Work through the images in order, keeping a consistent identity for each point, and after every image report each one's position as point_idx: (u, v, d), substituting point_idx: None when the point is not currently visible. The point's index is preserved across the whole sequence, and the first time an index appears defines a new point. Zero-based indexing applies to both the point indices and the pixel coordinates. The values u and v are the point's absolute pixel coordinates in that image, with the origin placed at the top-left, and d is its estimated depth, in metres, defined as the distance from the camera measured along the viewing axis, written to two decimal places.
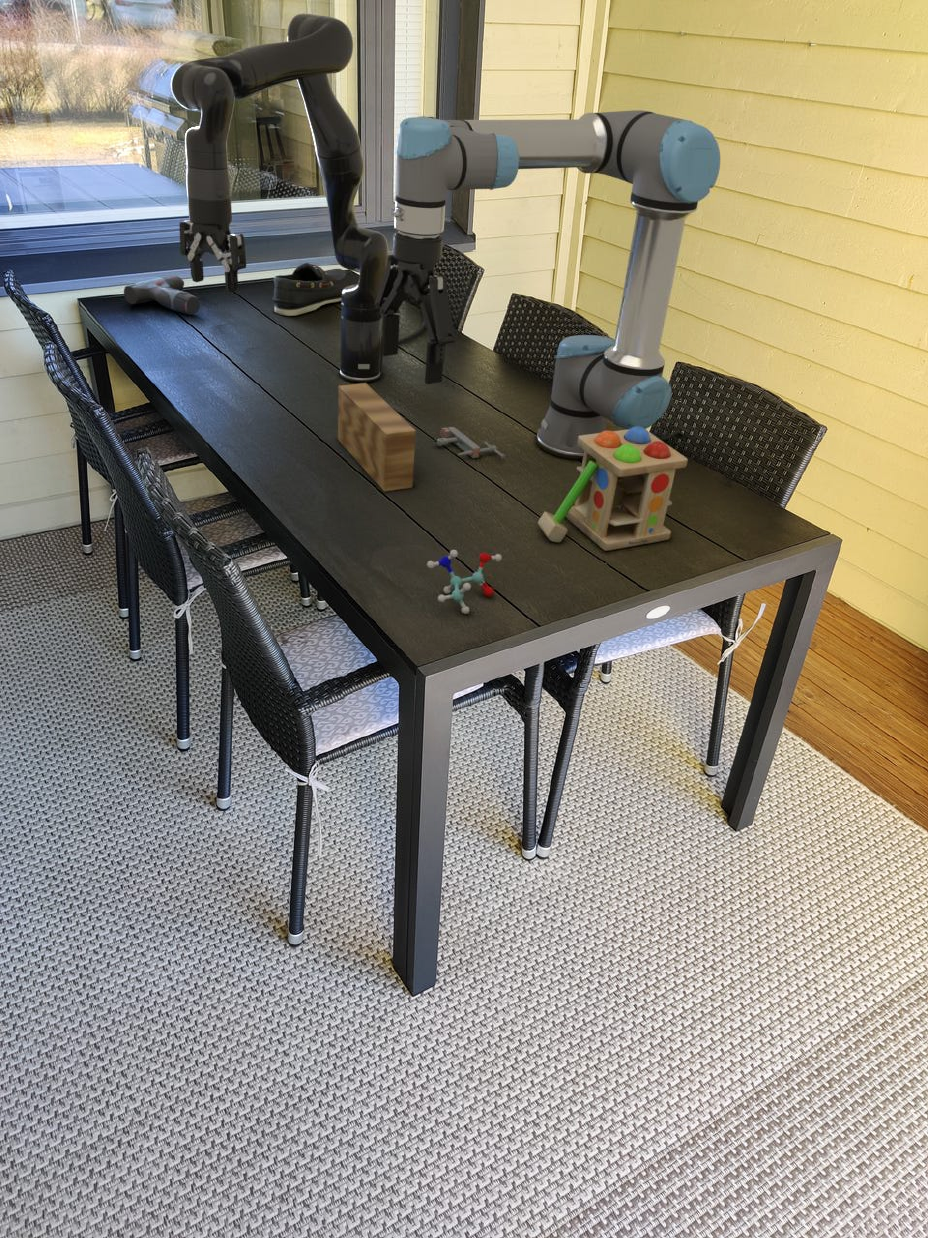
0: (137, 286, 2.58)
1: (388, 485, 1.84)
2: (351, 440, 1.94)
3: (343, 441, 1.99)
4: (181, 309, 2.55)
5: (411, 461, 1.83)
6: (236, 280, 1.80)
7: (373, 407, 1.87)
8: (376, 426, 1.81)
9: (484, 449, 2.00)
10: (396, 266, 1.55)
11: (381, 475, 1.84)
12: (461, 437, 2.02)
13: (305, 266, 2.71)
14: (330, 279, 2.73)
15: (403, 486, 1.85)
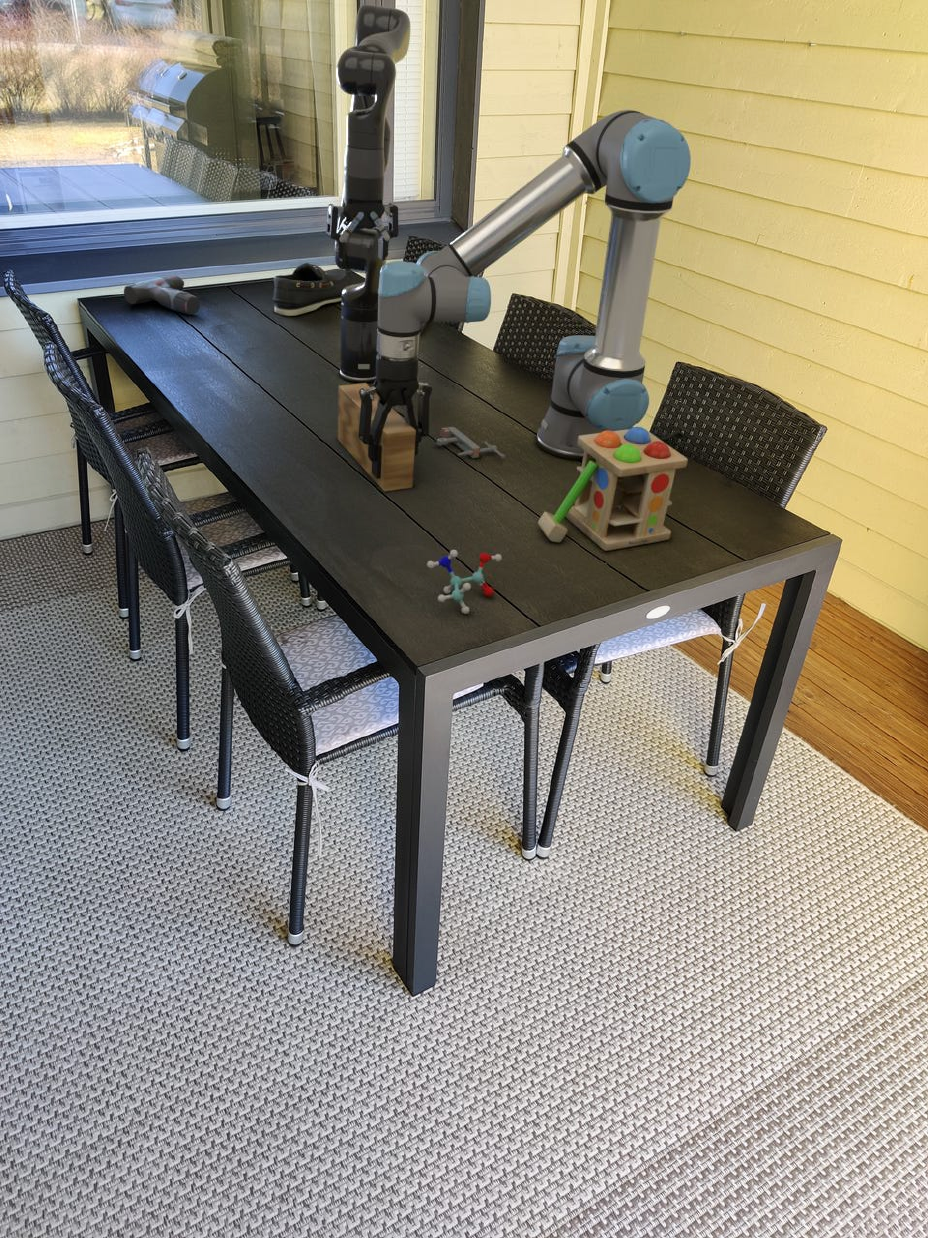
0: (137, 286, 2.58)
1: (388, 485, 1.84)
2: (351, 440, 1.94)
3: (343, 441, 1.99)
4: (181, 309, 2.55)
5: (411, 461, 1.83)
6: (337, 250, 1.92)
7: (373, 407, 1.87)
8: None
9: (484, 449, 2.00)
10: (372, 396, 1.75)
11: (381, 475, 1.84)
12: (461, 437, 2.02)
13: (305, 266, 2.71)
14: (330, 279, 2.73)
15: (403, 486, 1.85)
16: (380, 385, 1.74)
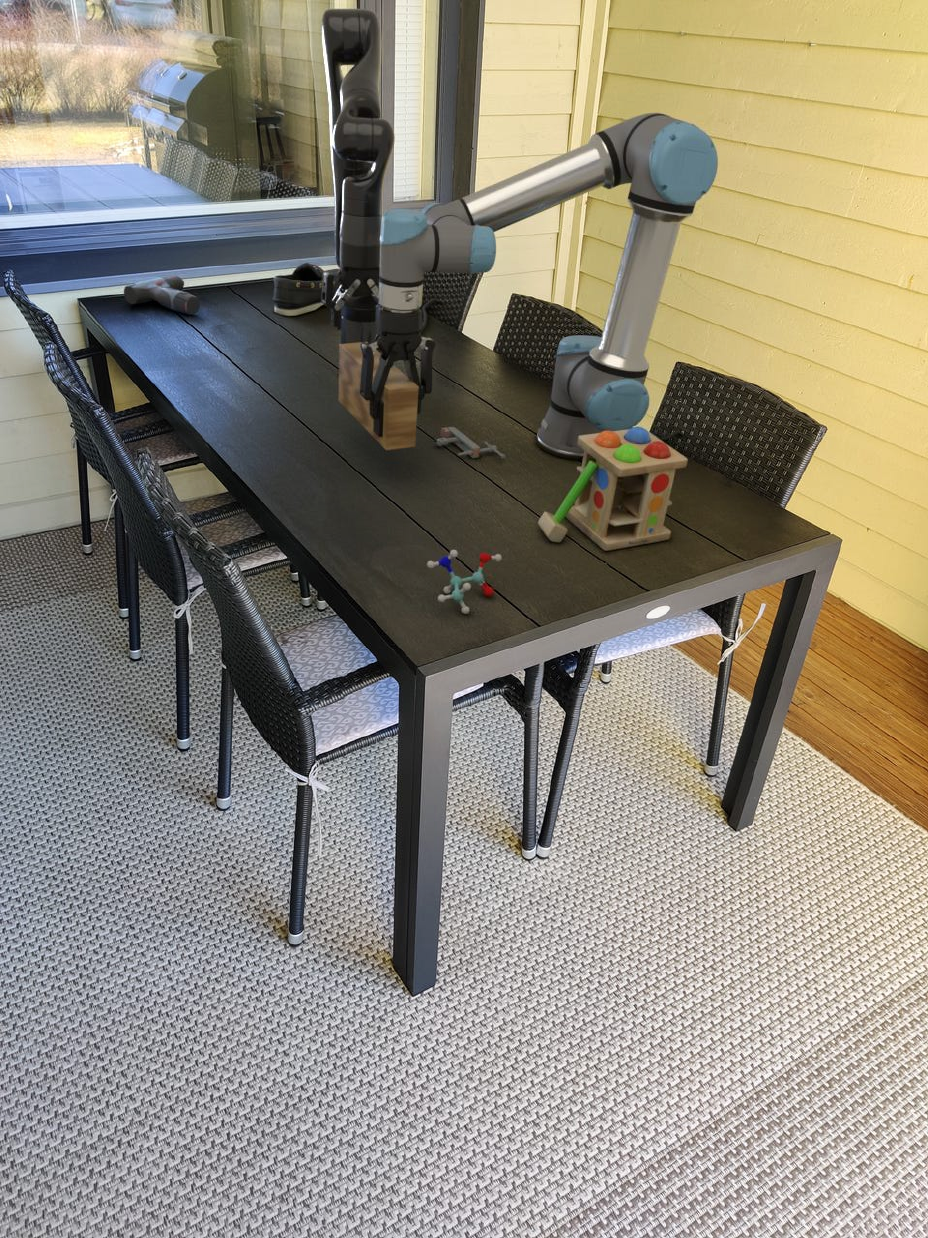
0: (137, 286, 2.58)
1: (390, 444, 1.79)
2: (352, 399, 1.89)
3: (343, 401, 1.94)
4: (181, 309, 2.55)
5: (414, 419, 1.78)
6: (333, 318, 1.84)
7: (375, 365, 1.82)
8: None
9: (484, 449, 2.00)
10: (374, 350, 1.70)
11: (383, 434, 1.79)
12: (461, 437, 2.02)
13: (305, 266, 2.71)
14: None
15: (406, 445, 1.81)
16: (382, 338, 1.69)
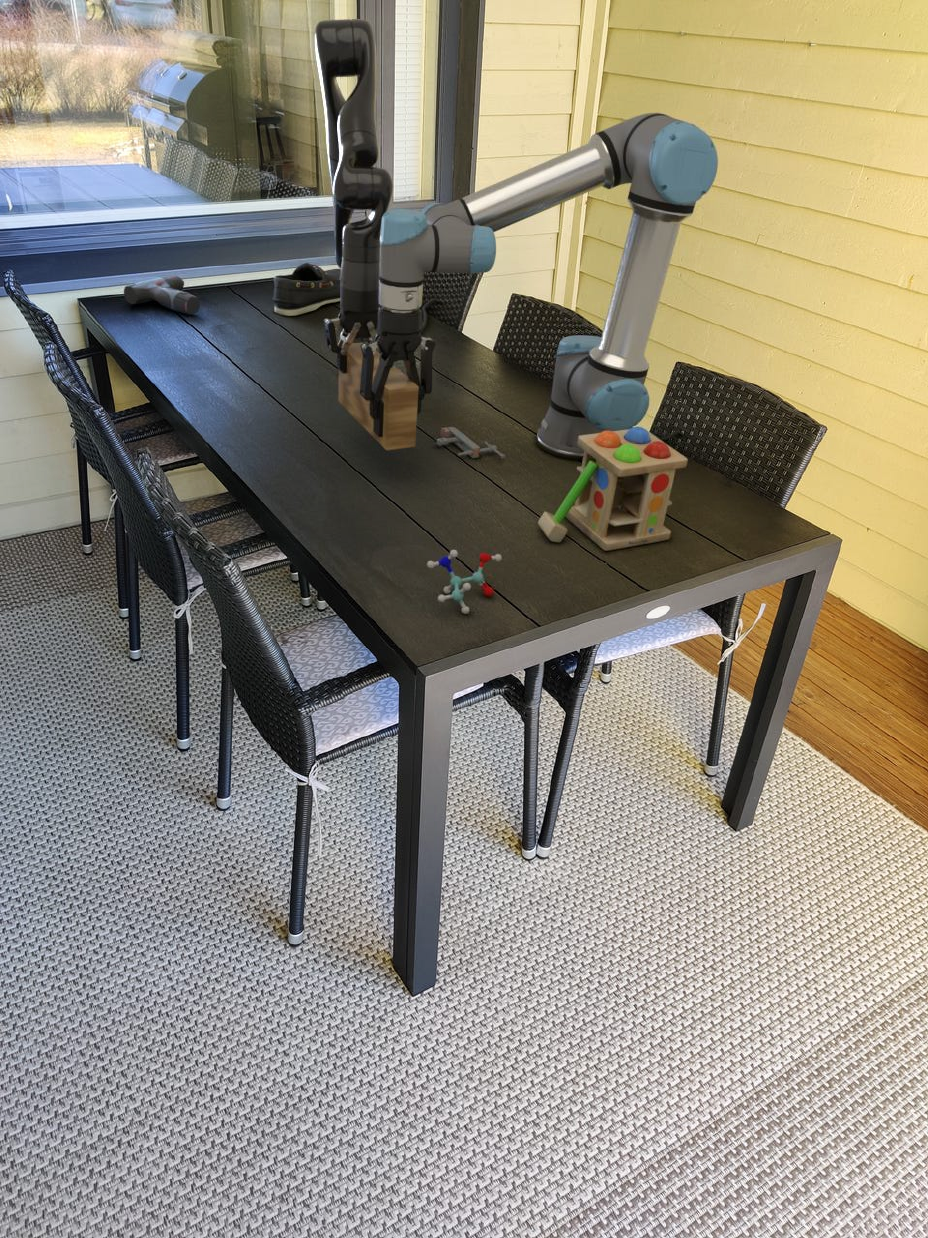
0: (137, 286, 2.58)
1: (390, 444, 1.79)
2: (352, 400, 1.89)
3: (343, 402, 1.94)
4: (181, 309, 2.55)
5: (414, 419, 1.78)
6: (339, 362, 1.88)
7: (375, 365, 1.82)
8: None
9: (484, 449, 2.00)
10: (374, 350, 1.70)
11: (383, 434, 1.79)
12: (461, 437, 2.02)
13: (305, 266, 2.71)
14: (330, 279, 2.73)
15: (406, 445, 1.81)
16: (382, 338, 1.69)
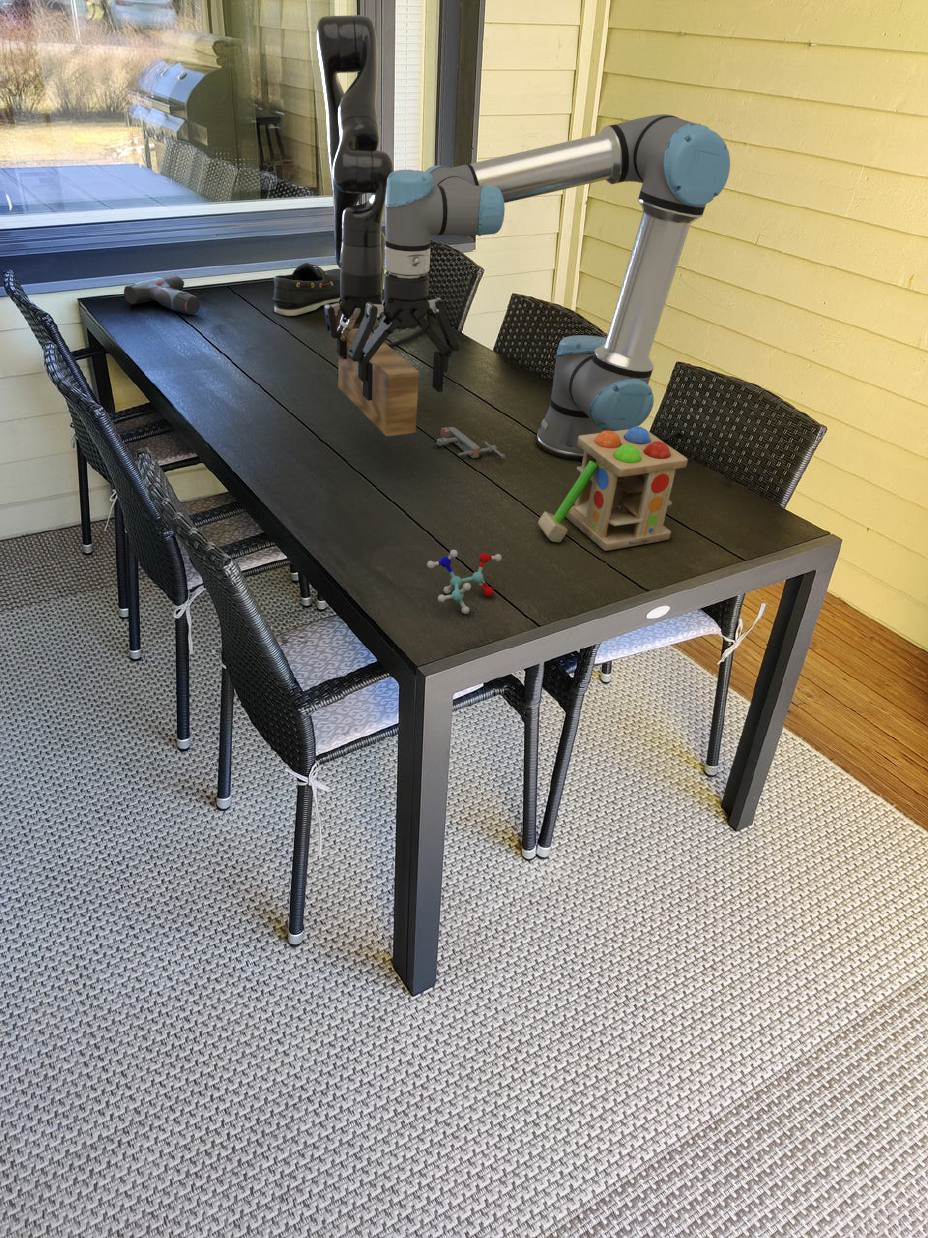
0: (137, 286, 2.58)
1: (391, 430, 1.78)
2: (352, 386, 1.88)
3: (343, 388, 1.93)
4: (181, 309, 2.55)
5: (414, 404, 1.77)
6: (338, 348, 1.87)
7: None
8: (378, 368, 1.75)
9: (484, 449, 2.00)
10: (378, 313, 1.65)
11: (383, 420, 1.78)
12: (461, 437, 2.02)
13: (305, 266, 2.71)
14: (330, 279, 2.73)
15: (406, 431, 1.79)
16: (390, 304, 1.64)
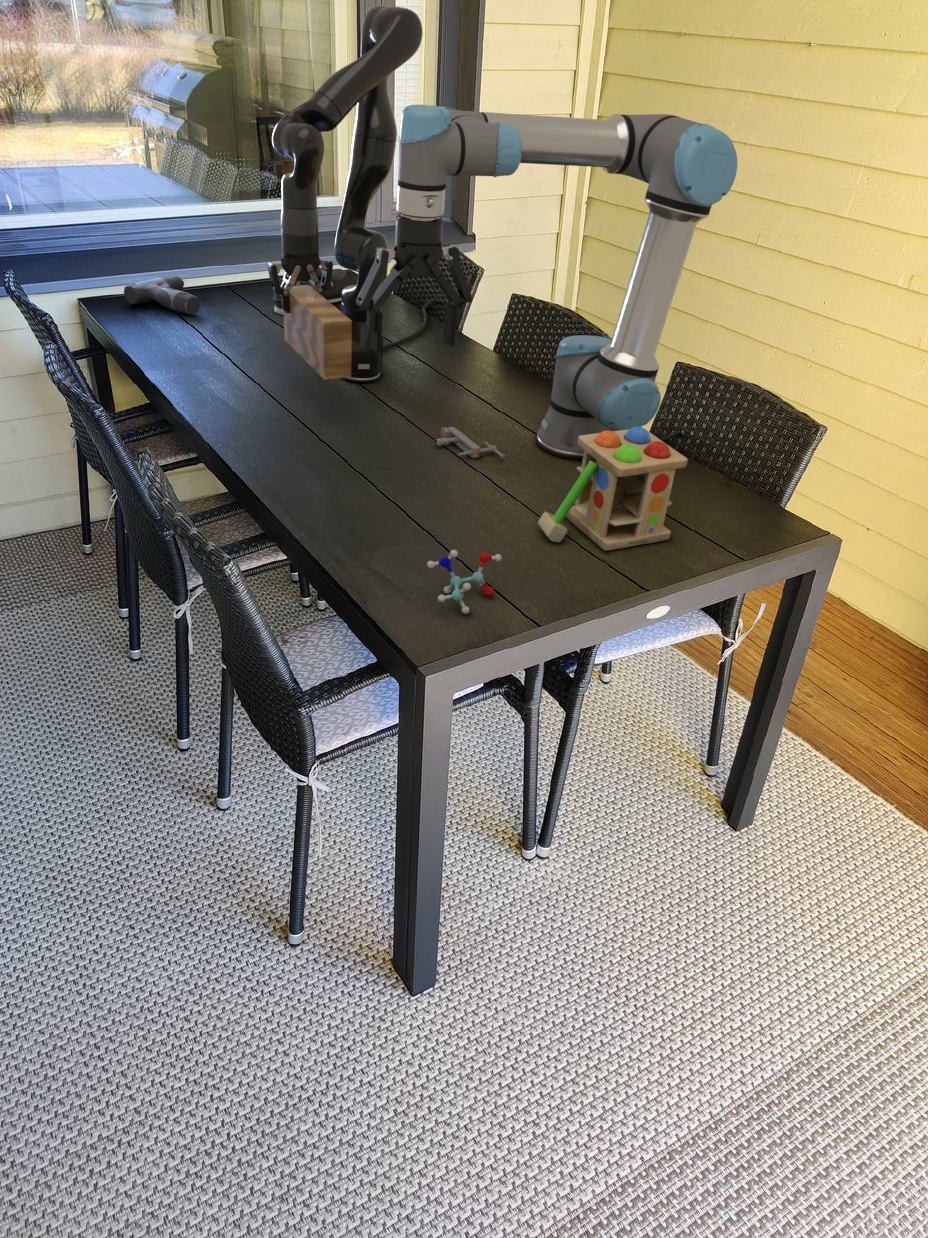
0: (137, 286, 2.58)
1: (328, 373, 1.98)
2: (295, 337, 2.08)
3: (288, 340, 2.13)
4: (181, 309, 2.55)
5: (349, 350, 1.98)
6: (282, 303, 2.07)
7: (314, 303, 2.01)
8: (315, 317, 1.95)
9: (484, 449, 2.00)
10: (390, 258, 1.56)
11: (321, 365, 1.98)
12: (461, 437, 2.02)
13: None
14: None
15: (342, 375, 2.00)
16: (402, 249, 1.56)
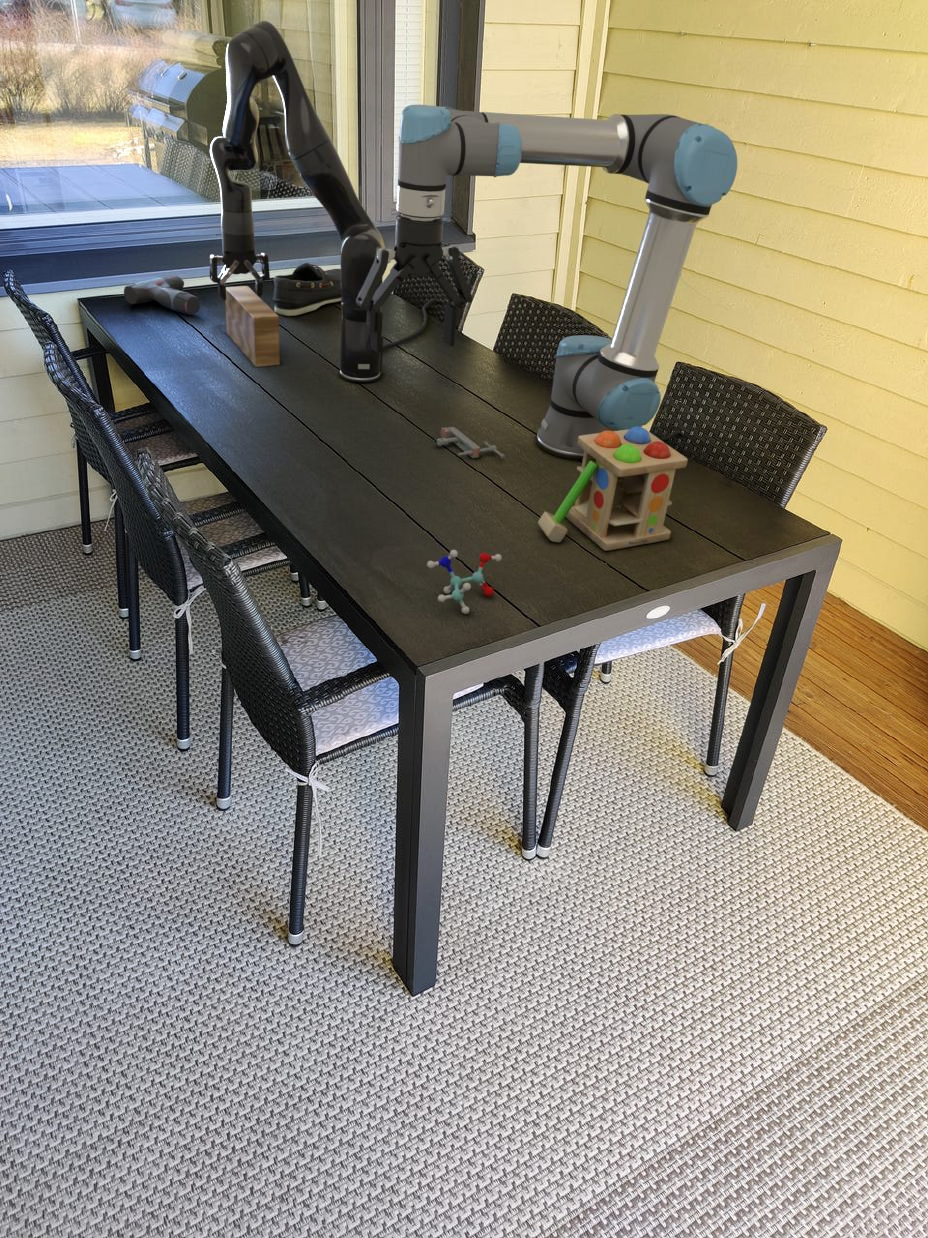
0: (137, 286, 2.58)
1: (259, 361, 2.31)
2: (234, 330, 2.41)
3: (229, 333, 2.46)
4: (181, 309, 2.55)
5: (277, 342, 2.30)
6: (219, 291, 2.38)
7: (248, 301, 2.34)
8: (248, 313, 2.28)
9: (484, 449, 2.00)
10: (390, 258, 1.56)
11: (253, 354, 2.31)
12: (461, 437, 2.02)
13: (305, 266, 2.71)
14: (330, 279, 2.73)
15: (272, 363, 2.33)
16: (402, 249, 1.56)
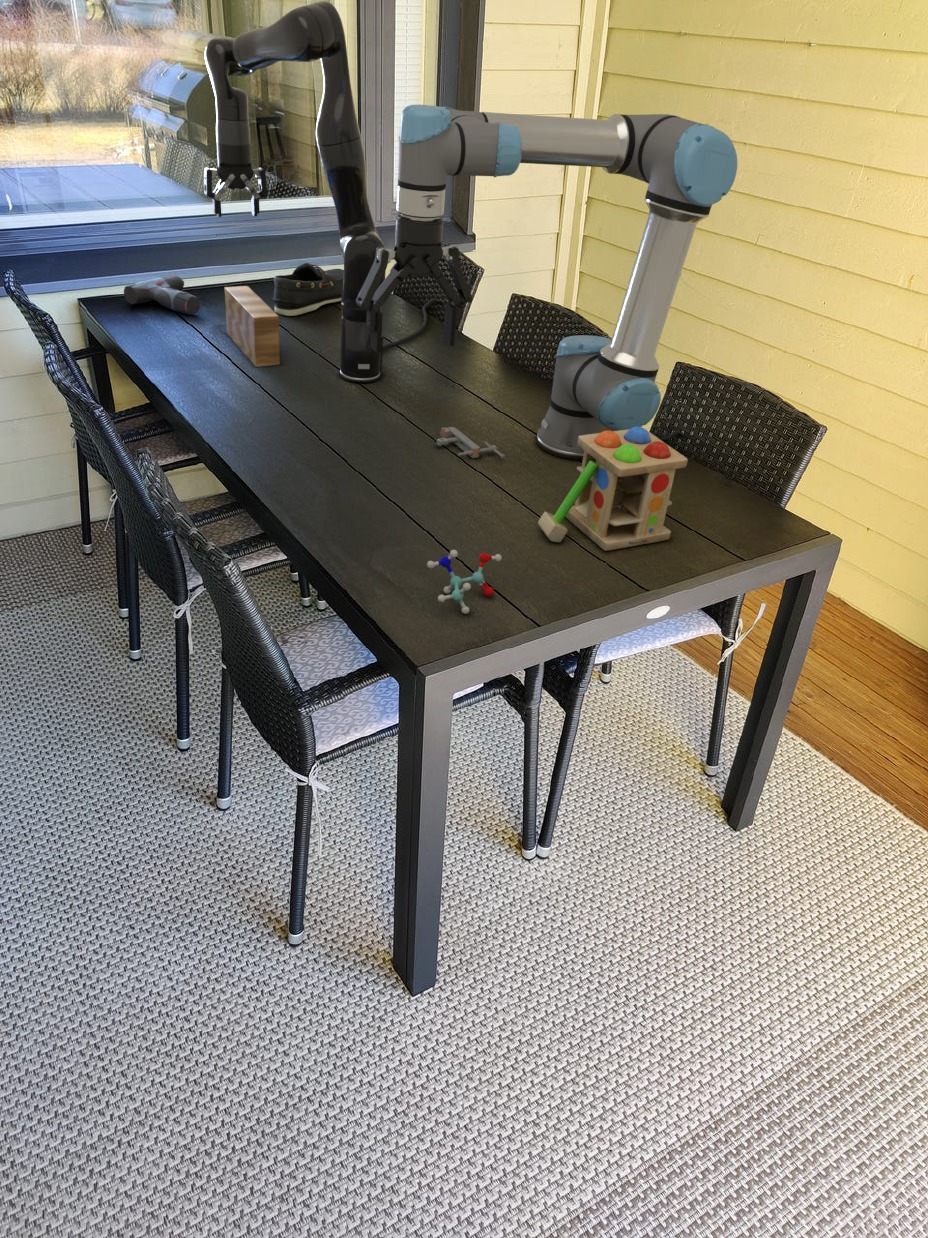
0: (137, 286, 2.58)
1: (259, 361, 2.31)
2: (234, 330, 2.41)
3: (229, 333, 2.46)
4: (181, 309, 2.55)
5: (277, 342, 2.30)
6: (214, 207, 2.27)
7: (248, 301, 2.34)
8: (248, 313, 2.28)
9: (484, 449, 2.00)
10: (390, 258, 1.56)
11: (253, 354, 2.31)
12: (461, 437, 2.02)
13: (305, 266, 2.71)
14: (330, 279, 2.73)
15: (272, 363, 2.33)
16: (402, 249, 1.56)
